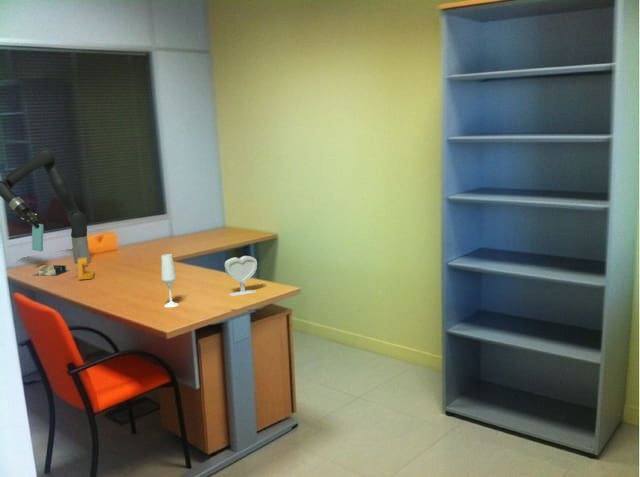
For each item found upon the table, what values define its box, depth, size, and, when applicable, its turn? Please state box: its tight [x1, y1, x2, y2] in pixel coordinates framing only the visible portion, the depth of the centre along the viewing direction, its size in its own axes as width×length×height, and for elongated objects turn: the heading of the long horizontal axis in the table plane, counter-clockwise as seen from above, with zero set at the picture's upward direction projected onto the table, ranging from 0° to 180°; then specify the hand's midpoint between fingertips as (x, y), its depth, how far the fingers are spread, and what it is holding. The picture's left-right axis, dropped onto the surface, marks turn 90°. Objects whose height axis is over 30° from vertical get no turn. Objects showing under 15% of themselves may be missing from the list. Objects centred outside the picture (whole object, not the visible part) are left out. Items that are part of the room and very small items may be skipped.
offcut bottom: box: [38, 270, 56, 275], centre depth 357 cm, size 8×4×2 cm, turn 76°
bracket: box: [77, 257, 96, 281], centre depth 348 cm, size 11×7×12 cm, turn 13°
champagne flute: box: [160, 253, 180, 308], centre depth 285 cm, size 7×7×24 cm
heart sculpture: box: [224, 255, 258, 297], centre depth 302 cm, size 16×5×18 cm, turn 117°
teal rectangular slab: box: [31, 223, 44, 252], centre depth 363 cm, size 6×2×16 cm, turn 76°
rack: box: [31, 264, 71, 277], centre depth 360 cm, size 16×14×4 cm
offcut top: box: [38, 264, 55, 271], centre depth 356 cm, size 7×4×2 cm, turn 80°
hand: (39, 226), depth 361 cm, fingers closed on teal rectangular slab, 1 cm apart
